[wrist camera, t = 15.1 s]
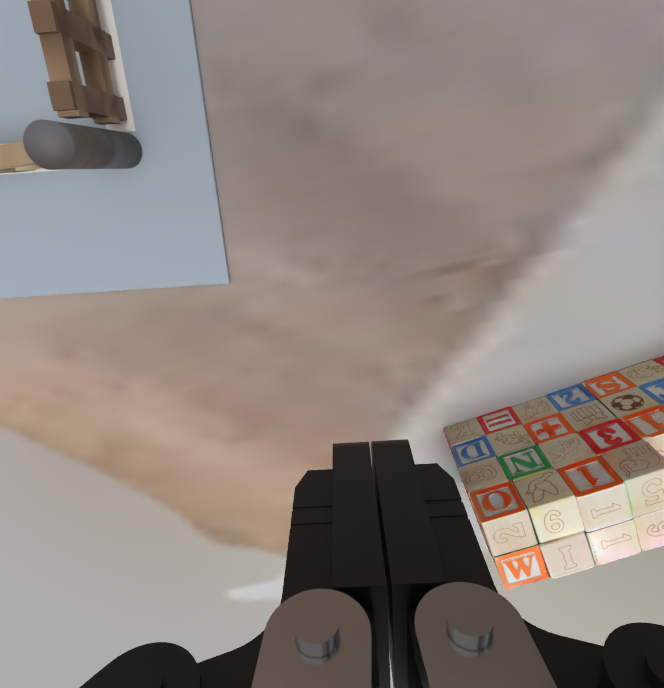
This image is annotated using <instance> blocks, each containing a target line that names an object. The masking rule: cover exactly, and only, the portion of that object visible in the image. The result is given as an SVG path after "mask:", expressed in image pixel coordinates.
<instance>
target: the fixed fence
mask: <svg viewBox="0 0 664 688" xmlns="http://www.w3.org/2000/svg"><path fill="white" fill-rule="evenodd" d="M67 1H68V5H69V10H70V11H69V10H67V9H66V7H65V3H64V0H31V1H27V4H28V8H29V12H30V16H31V20H32V25H33V29H34V33H36V34H38V35H39V38H40V42H41V46H42V50H43V54H44V59H45V63H46V67H47V71H48V75H49V80H50V82H46V83H47V87H48V91H49V95H50V99H51V104H52V108H53V111H57V113H58V117H60V118H66V119H77V118H93V121H94V123H95V124H101V125H106V124H120V121H127V115H126V110H125V104H124V99H123V98H122V97H119V96H116V95H114V91H113V86H112V81H111V76H110V71H109V66H108V61H107V60H116V58H115V53H114V48H113V42H112V37H111V35H110V34H108V33H106V32H105V31H103V30H101V25H100V20H99V15H98V10H97V5H96V0H67ZM75 51H77V52H79V56H80V61H81V66H82V70H83V75H84V80H85V84H86V86H84V85H82V80H81V76H80V71H79V67H78V62H77V58H76V53H75ZM23 144H24V148H25V151H26V153H27V155H28V156H29V158H30V159H31V160H32V161H33V162H34V163H35V164H36V165H38V166H40V167H41V168H44V169H48V170H70V169H129V168H133V167H135V166H137V165H138V164H139V163H140V161H141V159H142V147H141V144H140V142H139V141H138V140H137V138H136V137H134V136H133V135H132V134H130V133H127V132H120V131H114V130H108V129H101V128H95V127H89V126H82V125H76V124H70V123H63V122H57V121H50V120H44V119H41V120H36V121H33V122H32V123H30V124H29V125H28V126H27V128H26V130H25V132H24V136H23Z"/></svg>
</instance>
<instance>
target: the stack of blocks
mask: <svg viewBox="0 0 664 688" xmlns="http://www.w3.org/2000/svg"><path fill="white" fill-rule="evenodd" d="M444 432H445V435H446V438H447V441H448V443H449V446H450V449H451V451H452V454H453V457H454V459H455V462H456V465H457V467H458V470H459V473H460V475H461V478H462V481H463V484H464V486H465V489H466V492H467V494H468V497H469V500H470V502H471V505H472V508H473V510H474V513H475V516H476V518H477V521H478V523H479V526H480V528H481V531H482V534H483V536H484V539H485V541H486V544H487V546H488V549H489V552H490V554H491V556H492V557H493V560H494V562H495V565H496V567H497V570H498V572H499V575H500V577H501V580H502V582H503V585H504V587H505V589H507V590H508V589H511V588H515V587H518V586H522V585H525V584H529V583H533V582H537V581H540V580H543V579H547V578H548V577H551V578H552V579H556V578H559V577H563V576H566V575H570V574H573V573H576V572H580V571H583V570H586V569H590V568H593V567H594V566H595V564H597V565H602V564H606V563H609V562H612V561H615V560H619V559H622V558H625V557H628V556H632V555H635V554H638V553H640V552H641V551H647V550H650V549H654V548H657V547H660V546H664V357H661V358H658V359H655V360H654V361H653V360H649V361H646V362H643V363H640V364H637V365H634V366H631V367H628V368H624V369H622V370H619V371H618V372H613V373H609V374H606V375H603V376H600V377H597V378H594V379H591V380H588V381H584V382H582V383H581V384H578V385H575V386H572V387H569V388H566V389H563V390H560V391H557V392H554V393H551V394H548V395H546V396H542V397H539V398H536V399H533V400H530V401H527V402H524V403H521V404H518V405H515V406H513V407H507V408H504V409H501V410H498V411H495V412H492V413H488V414H485V415H482V416H479V417H476V418H472V419H469V420H466V421H463V422H460V423H457V424H454V425H451V426H448V427H445V428H444Z"/></svg>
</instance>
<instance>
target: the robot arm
mask: <svg viewBox="0 0 664 688" xmlns="http://www.w3.org/2000/svg"><path fill="white" fill-rule="evenodd" d="M371 450H372V464H371V456H370V448H369V442H356V443H338V444H333V469H328V470H310V471H307V472H306V474H305V475H304V476H303V478H302V479H301V480H300V482H299V483H298V485H297V486H296V487H295V493H294V501H293V511H292V518H291V529H290V535H289V543H288V551H287V560H286V568H285V577H284V585H283V593H282V599H281V604H280V606H279V607H278V608H277V609H276V610H275V611H274V612H273V614H272V615H271V617H270V619H269V620H268V622H267V625H266V628H265V630H264V631H263V632H262V633H261V634H260V635H258V636H257V637H256V638H254V639H253V640H252V641H250V642H248V643H247V644H245V645H244V646H242V647H239V648H237V649H235V650H232V651H230V652H227V653H224V654H222V655H219V656H216V657H213V658H211V659H208V660H205V661H202V662H200V663H196V661H195V659H194V657H193V656H192V655H191V654H190V653H189V652H188V651H187V650H186V649H184V648H183V647H181V646H178V645H176V644H172V643H166V642H156V643H150V644H145V645H142V646H139V647H136V648H134V649H131V650H129V651H127V652H125V653H124V654H122V655H120V656H118V657H117V658H116V659H114V660H113V661H112V662H110V663H109V664H108V665H106V666H105V667H104V668H103V669H102V670H100V671H99V672H98V673H97V674H95V675H94V676H93V677H92V678H91V679H89V680H88V681H87V682H86V683H85V684H84V685H82V686H81V687H80V688H390V662H389V651H390V660H391V668H392V677H393V686H394V688H664V626H662V625H657V624H652V623H630V624H626V625H623V626H620V627H618V628H617V629H615V630H614V631H613V632H612V633H610V634H609V636H608V638H607V639H606V641H605V644H604V646H600V645H596V644H592V643H588V642H584V641H579V640H576V639H572V638H568V637H563V636H560V635H556V634H553V633H550V632H547V631H545V630H542V629H540V628H538V627H536V626H534V625H532V624H530V623H528V622H527V621H525V620H524V619H522V618H521V616H520V614H519V613H518V611H517V610H516V609H515V608H514V606H513V605H512V604H511V603H510V602H509V601H508V600H506V599H505V598H504V597H503V596H501V595H500V594H498V592H497V590H496V587H495V586H494V583H493V580H492V578H491V575H490V572H489V570H488V567H487V564H486V562H485V559H484V557H483V554H482V551H481V549H480V546H479V544H478V541H477V538H476V536H475V533H474V530H473V528H472V525H471V523H470V520H469V519H468V515H467V512H466V510H465V507H464V504H463V502H462V501H461V496H460V494H459V491H458V489H457V486H456V483H455V481H454V479H453V478H452V477H451V476H450V475H449V474H448V473H447V472H446V471H445V470H443V469H442V468H441V467H440V466H439V465H438V464H437V463H435V464H417V465H415V464H414V460H413V456H412V453H411V449H410V445H409V442H408V440H389V441H372V442H371Z"/></svg>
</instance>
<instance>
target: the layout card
mask: <svg viewBox="0 0 664 688" xmlns="http://www.w3.org/2000/svg"><path fill="white" fill-rule="evenodd" d="M27 1H31V0H0V145H2V144H10V143H16V142H20V141H23V136H24V132H25V130H26V128H27V126H28V125H29V124H30V123H32V122H33V121H36V120H41V119H44V120H50V121H57V122H63V123H70V124H76V125H82V126H89V127H95V128H101V129H108V130H114V131H120V132H127V133H130V134H132V135H133V136H134V137H136V138H137V140H138V141H139V142H140V144H141V147H142V159H141V161H140V163H139V164H138V165H137V166H135V167H133V168H129V169H70V170H48V169H44V168H42V169H36V170H34V171H25V172H17V173H1V174H0V298H13V297H28V296H43V295H59V294H74V293H89V292H105V291H120V290H135V289H151V288H166V287H181V286H197V285H212V284H227V283H230V277H229V270H228V263H227V256H226V249H225V242H224V235H223V228H222V221H221V214H220V207H219V200H218V193H217V186H216V178H215V171H214V164H213V157H212V150H211V143H210V136H209V129H208V122H207V115H206V108H205V101H204V94H203V87H202V80H201V73H200V66H199V59H198V52H197V45H196V38H195V31H194V24H193V17H192V9H191V2H190V0H96V5H97V10H98V15H99V20H100V25H101V30H103V31H105V32H106V33H108V34H110V35H111V37H112V42H113V48H114V53H115V58H116V60H107V61H108V66H109V71H110V76H111V81H112V86H113V91H114V95H116V96H119V97H122V98H123V99H124V104H125V110H126V115H127V121H120V124H106V125H101V124H95V123H94V121H93V118H77V119H66V118H60V117H58V113H57V111H53V108H52V104H51V99H50V95H49V91H48V87H47V83H46V82H50V80H49V75H48V71H47V67H46V63H45V59H44V54H43V50H42V46H41V42H40V38H39V35H38V34H36V33H34V29H33V25H32V20H31V16H30V12H29V8H28V4H27ZM64 3H65V7H66V9H67V10H69V5H68V1H67V0H64ZM69 11H70V10H69ZM75 53H76V58H77V62H78V67H79V71H80V76H81V80H82V85H84V86H86V84H85V80H84V75H83V70H82V66H81V61H80V56H79V52H77V51H75Z"/></svg>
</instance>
